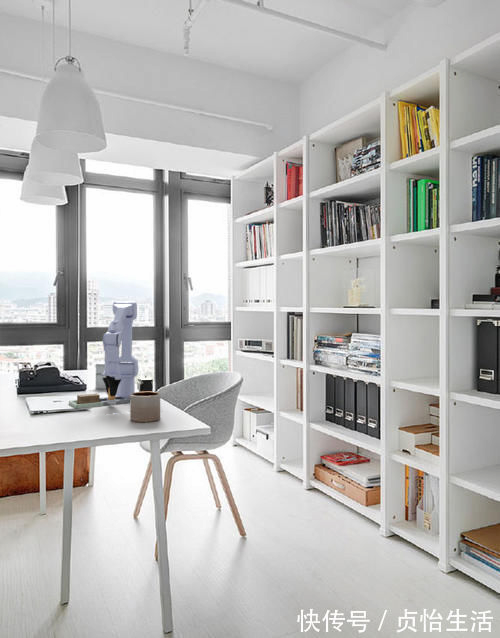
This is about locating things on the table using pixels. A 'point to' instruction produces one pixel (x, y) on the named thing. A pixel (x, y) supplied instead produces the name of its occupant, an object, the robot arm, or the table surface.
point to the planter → (145, 406)
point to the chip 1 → (83, 399)
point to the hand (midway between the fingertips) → (111, 395)
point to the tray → (74, 404)
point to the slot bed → (118, 400)
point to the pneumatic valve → (145, 384)
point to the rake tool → (111, 398)
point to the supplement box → (100, 375)
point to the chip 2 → (94, 398)
